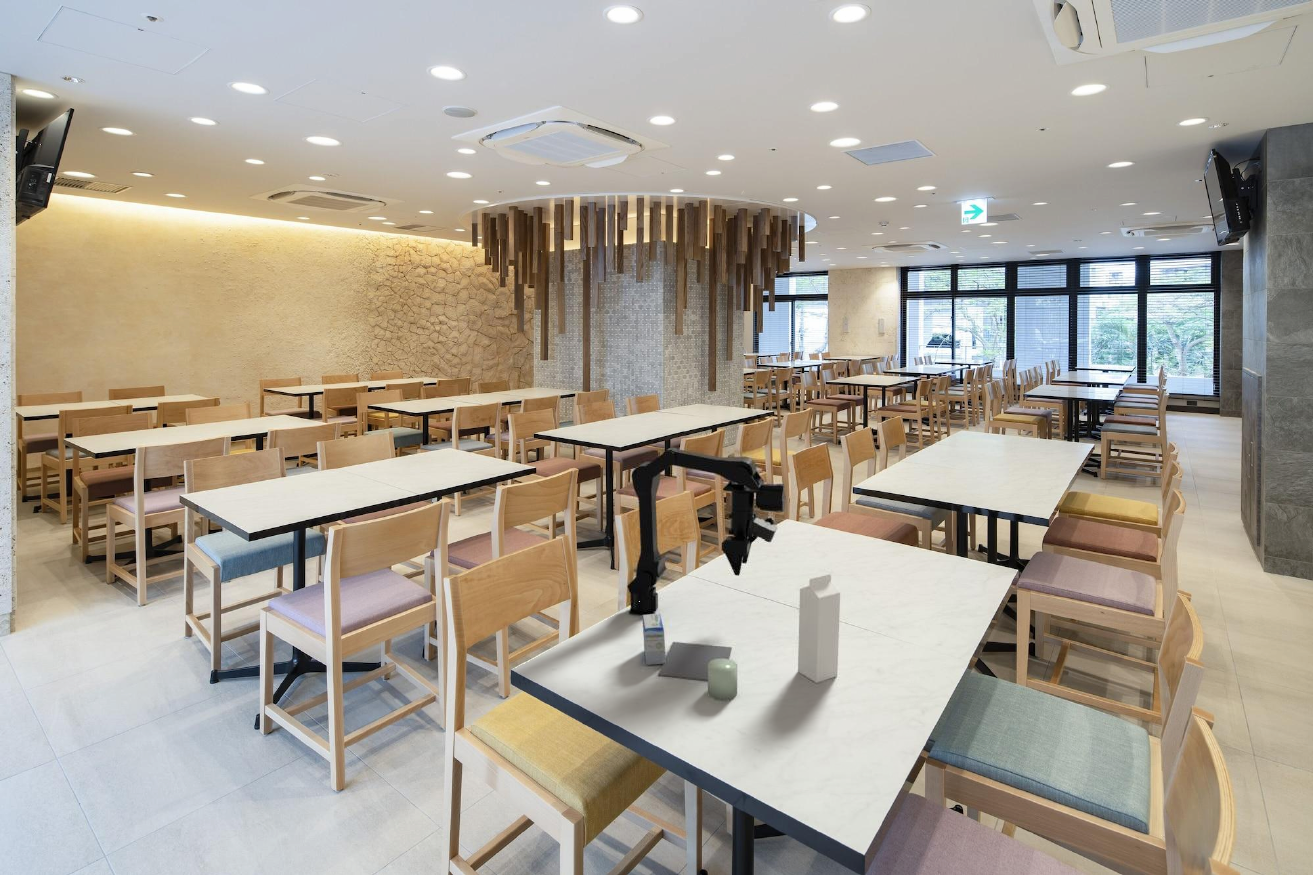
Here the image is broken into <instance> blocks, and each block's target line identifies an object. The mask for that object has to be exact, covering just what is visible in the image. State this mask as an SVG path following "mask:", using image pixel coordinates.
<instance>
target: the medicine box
mask: <svg viewBox="0 0 1313 875" xmlns="http://www.w3.org/2000/svg"><path fill="white" fill-rule="evenodd" d="M641 616H642V618H641V619H642V634H643V650H644V656H645V664H646V665H647V666H651V665H663V664H664V663H666V656H667V654H666V643H665V642H666V640H665V639H666V638H665V628H664V625H663V624H664V623H663V618H662V614H661V613H654V614H649V615H641Z"/></svg>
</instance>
